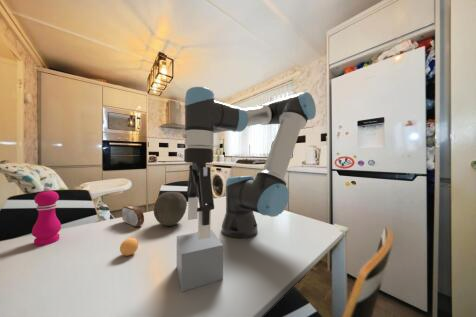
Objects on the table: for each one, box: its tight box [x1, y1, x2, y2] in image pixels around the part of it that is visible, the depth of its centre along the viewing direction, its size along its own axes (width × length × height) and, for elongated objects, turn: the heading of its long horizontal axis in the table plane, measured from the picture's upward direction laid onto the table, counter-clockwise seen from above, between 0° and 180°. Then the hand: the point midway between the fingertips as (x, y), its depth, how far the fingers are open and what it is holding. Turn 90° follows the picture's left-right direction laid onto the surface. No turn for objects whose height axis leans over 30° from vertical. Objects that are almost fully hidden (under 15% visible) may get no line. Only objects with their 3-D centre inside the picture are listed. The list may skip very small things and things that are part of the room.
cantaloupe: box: [153, 191, 188, 227], centre depth 81 cm, size 14×14×15 cm
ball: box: [119, 237, 139, 257], centre depth 56 cm, size 5×5×5 cm
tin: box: [121, 204, 145, 228], centre depth 80 cm, size 15×3×8 cm, turn 58°
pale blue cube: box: [176, 229, 224, 293], centre depth 47 cm, size 10×10×9 cm
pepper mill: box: [31, 186, 62, 247], centre depth 64 cm, size 7×7×20 cm
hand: (197, 227), depth 47 cm, fingers open, 13 cm apart
